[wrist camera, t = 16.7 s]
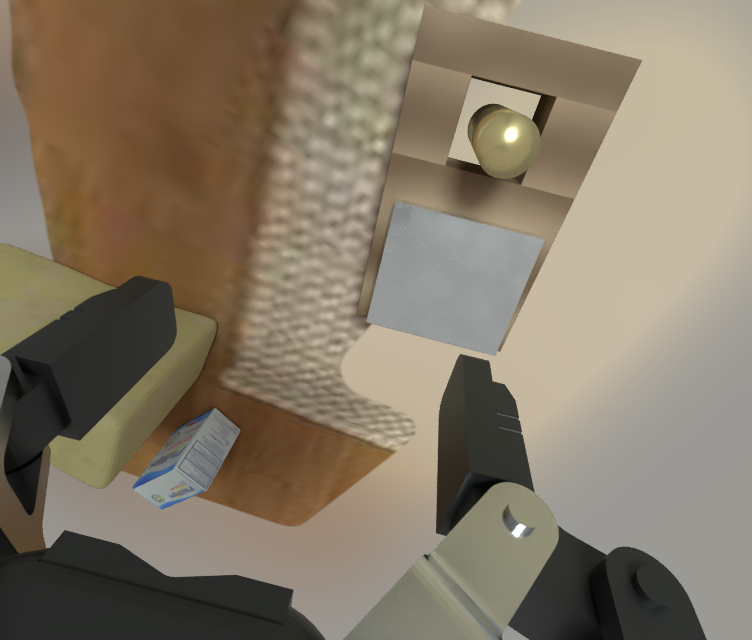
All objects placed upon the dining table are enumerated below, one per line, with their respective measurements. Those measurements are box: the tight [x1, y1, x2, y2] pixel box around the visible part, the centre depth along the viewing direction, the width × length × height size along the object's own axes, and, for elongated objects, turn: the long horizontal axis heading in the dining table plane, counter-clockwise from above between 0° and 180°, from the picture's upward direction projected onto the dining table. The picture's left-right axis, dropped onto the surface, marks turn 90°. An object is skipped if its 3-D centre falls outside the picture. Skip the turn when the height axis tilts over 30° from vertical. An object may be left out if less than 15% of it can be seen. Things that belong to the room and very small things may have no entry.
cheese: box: [0, 243, 217, 489], centre depth 33 cm, size 22×10×15 cm, turn 61°
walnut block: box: [357, 5, 642, 351], centre depth 28 cm, size 20×12×4 cm, turn 168°
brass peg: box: [468, 104, 540, 179], centre depth 23 cm, size 3×3×9 cm
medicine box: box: [133, 408, 241, 509], centre depth 44 cm, size 8×4×9 cm, turn 126°
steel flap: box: [366, 200, 545, 356], centre depth 28 cm, size 9×10×1 cm
